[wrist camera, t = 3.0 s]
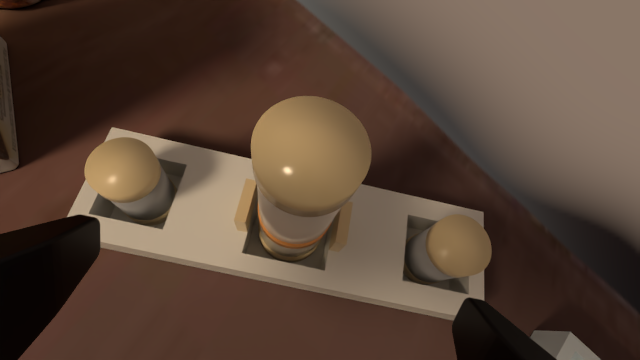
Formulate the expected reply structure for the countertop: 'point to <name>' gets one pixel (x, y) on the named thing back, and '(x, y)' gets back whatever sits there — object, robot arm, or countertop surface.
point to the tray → (563, 345)
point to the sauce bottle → (16, 3)
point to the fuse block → (245, 247)
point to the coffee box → (6, 115)
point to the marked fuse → (305, 172)
